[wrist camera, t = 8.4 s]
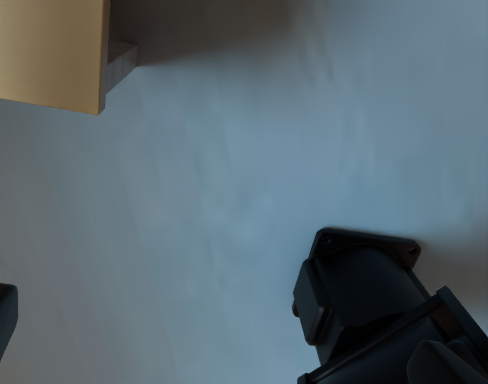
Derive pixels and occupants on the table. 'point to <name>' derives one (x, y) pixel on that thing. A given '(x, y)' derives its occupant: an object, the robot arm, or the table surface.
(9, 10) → the toy desk
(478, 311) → the table surface
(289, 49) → the table surface
